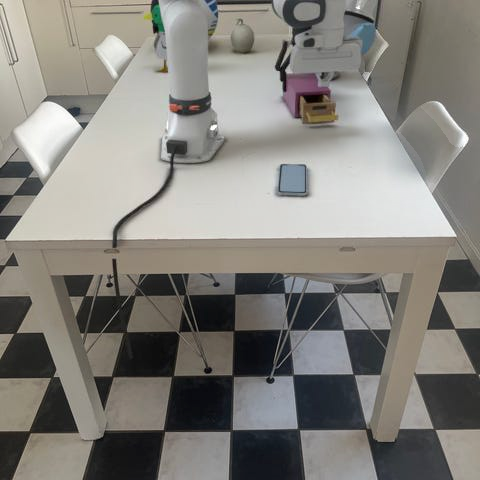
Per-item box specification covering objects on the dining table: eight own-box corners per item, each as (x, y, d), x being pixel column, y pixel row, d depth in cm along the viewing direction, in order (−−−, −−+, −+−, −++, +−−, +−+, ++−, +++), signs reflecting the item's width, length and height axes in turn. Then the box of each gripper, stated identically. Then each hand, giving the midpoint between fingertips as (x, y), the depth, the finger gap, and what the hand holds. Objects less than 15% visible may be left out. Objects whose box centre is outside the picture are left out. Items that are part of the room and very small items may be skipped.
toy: (155, 65, 218) (148, 2, 203) (198, 69, 211) (194, 5, 197) (145, 70, 212) (137, 6, 198) (190, 75, 205) (185, 9, 191)
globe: (220, 56, 226) (217, -19, 209) (152, 59, 225) (143, -17, 207) (218, 39, 250) (215, -30, 233) (156, 41, 249) (149, -28, 232)
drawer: (339, 129, 156) (341, 109, 152) (306, 131, 155) (307, 111, 151) (319, 101, 176) (320, 83, 172) (290, 103, 175) (290, 85, 171)
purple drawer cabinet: (328, 115, 168) (330, 90, 164) (294, 117, 167) (295, 92, 162) (313, 94, 185) (315, 71, 180) (282, 96, 184) (283, 73, 179)
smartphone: (277, 192, 126) (279, 163, 138) (277, 196, 127) (279, 166, 139) (307, 193, 125) (307, 164, 137) (307, 196, 126) (306, 167, 138)
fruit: (247, 46, 238) (247, 12, 230) (258, 52, 229) (258, 17, 221) (227, 49, 235) (225, 14, 226) (236, 55, 226) (235, 19, 218)
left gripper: (359, 32, 146) (354, 80, 154) (289, 36, 145) (287, 85, 153) (367, 38, 141) (361, 87, 149) (293, 42, 139) (292, 92, 147)
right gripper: (337, 18, 170) (331, 84, 183) (266, 22, 168) (265, 88, 181) (343, 23, 164) (337, 91, 177) (270, 27, 162) (269, 95, 174)
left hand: (323, 86), depth 151 cm, fingers closed
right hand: (301, 89), depth 179 cm, fingers closed on purple drawer cabinet, 11 cm apart
